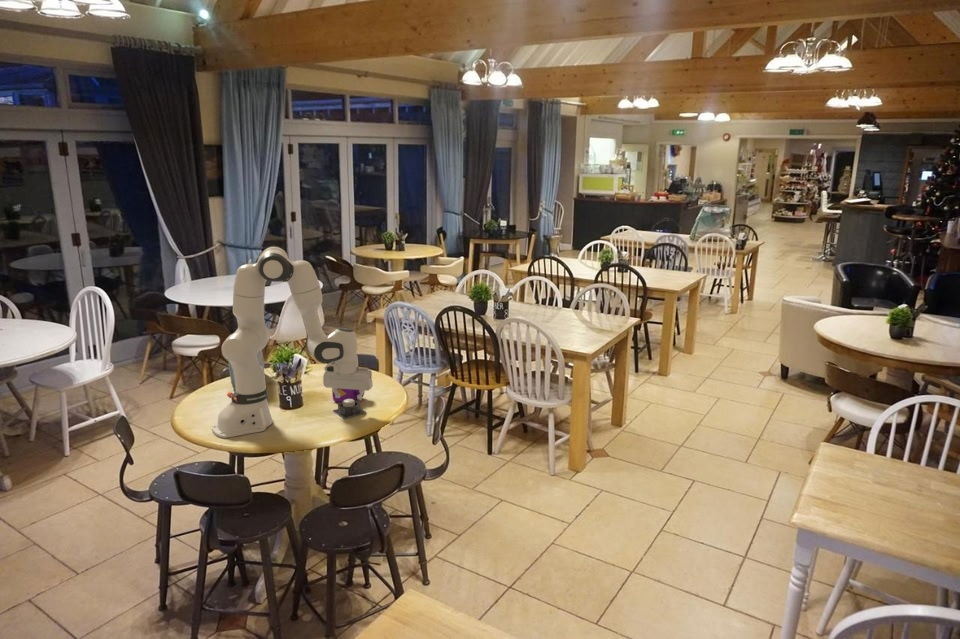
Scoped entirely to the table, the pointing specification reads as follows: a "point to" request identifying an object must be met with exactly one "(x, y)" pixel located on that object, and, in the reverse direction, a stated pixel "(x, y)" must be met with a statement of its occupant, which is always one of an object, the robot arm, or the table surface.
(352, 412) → the grey flanged ring
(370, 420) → the table surface
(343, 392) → the toy camera
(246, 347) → the robot arm
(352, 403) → the cap
